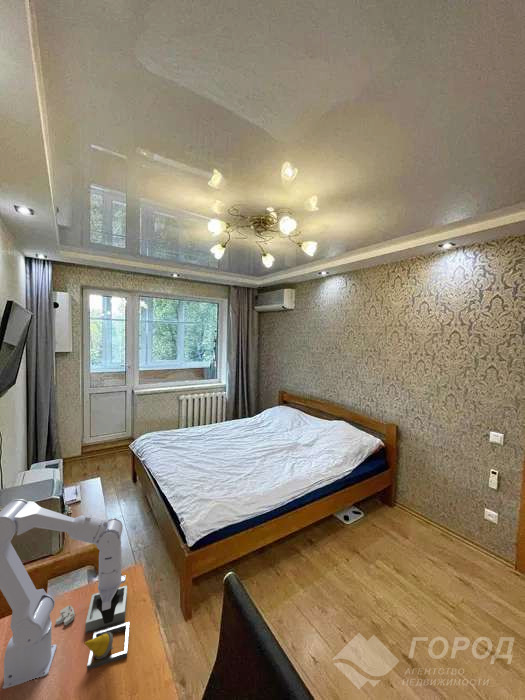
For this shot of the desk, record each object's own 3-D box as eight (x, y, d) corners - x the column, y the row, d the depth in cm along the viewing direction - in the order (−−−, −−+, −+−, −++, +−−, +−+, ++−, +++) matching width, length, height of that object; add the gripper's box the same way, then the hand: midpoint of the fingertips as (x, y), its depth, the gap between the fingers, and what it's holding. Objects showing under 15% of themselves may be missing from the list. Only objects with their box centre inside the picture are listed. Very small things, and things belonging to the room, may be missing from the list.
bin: (85, 634, 86) (85, 622, 86) (92, 604, 96) (92, 594, 96) (124, 622, 90) (124, 611, 90) (127, 595, 100) (127, 585, 100)
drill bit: (112, 663, 80) (83, 660, 74) (101, 656, 82) (72, 653, 77) (123, 636, 83) (96, 631, 78) (112, 631, 86) (85, 626, 80)
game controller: (51, 622, 90) (51, 614, 90) (87, 594, 100) (87, 586, 100) (63, 630, 88) (63, 621, 87) (98, 600, 98) (98, 592, 98)
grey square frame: (87, 671, 77) (87, 666, 77) (93, 637, 86) (93, 632, 86) (127, 657, 80) (127, 652, 80) (129, 626, 89) (129, 621, 89)
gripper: (123, 581, 77) (123, 631, 77) (127, 546, 91) (127, 589, 91) (93, 589, 75) (92, 641, 75) (102, 551, 88) (102, 595, 88)
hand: (110, 613), depth 83 cm, fingers open, 5 cm apart
